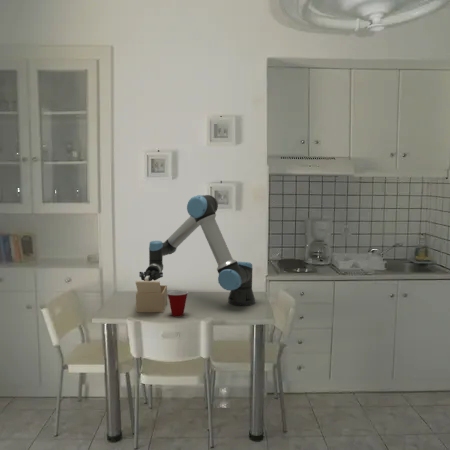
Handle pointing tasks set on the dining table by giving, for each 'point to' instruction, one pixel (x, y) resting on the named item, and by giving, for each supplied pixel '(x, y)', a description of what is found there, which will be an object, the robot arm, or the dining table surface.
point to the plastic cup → (177, 302)
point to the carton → (152, 301)
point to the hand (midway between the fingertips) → (146, 281)
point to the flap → (148, 286)
